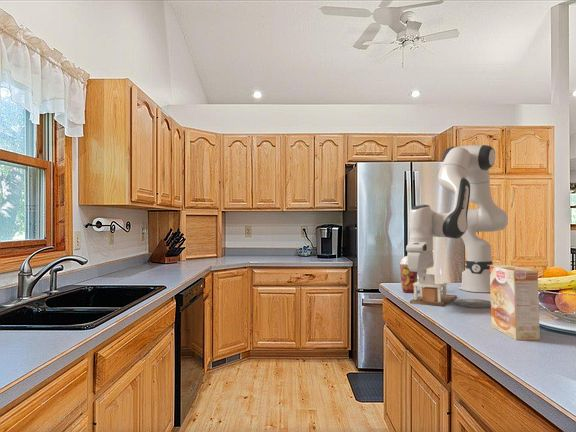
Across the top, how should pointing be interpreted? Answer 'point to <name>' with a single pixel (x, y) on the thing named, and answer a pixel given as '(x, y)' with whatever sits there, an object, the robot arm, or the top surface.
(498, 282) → the coffeecake box
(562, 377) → the top surface
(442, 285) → the cover
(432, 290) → the block
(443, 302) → the puzzle board
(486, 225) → the robot arm
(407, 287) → the smoothie
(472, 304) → the saucer
